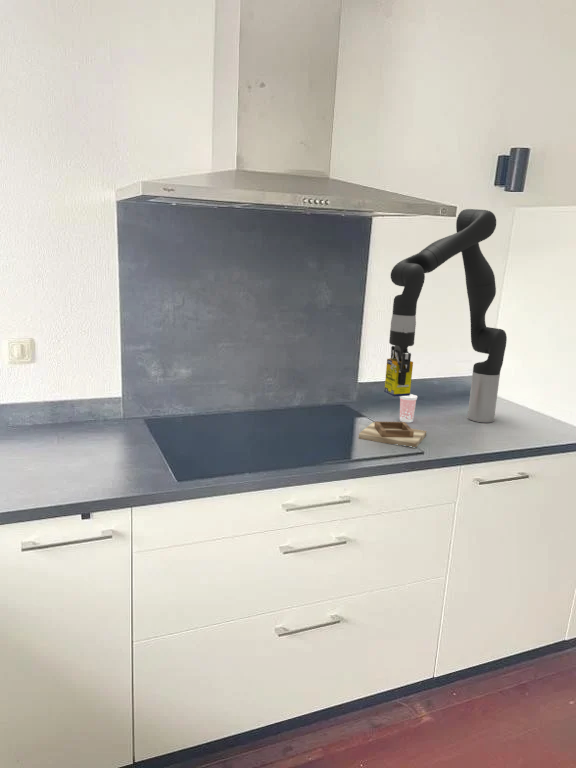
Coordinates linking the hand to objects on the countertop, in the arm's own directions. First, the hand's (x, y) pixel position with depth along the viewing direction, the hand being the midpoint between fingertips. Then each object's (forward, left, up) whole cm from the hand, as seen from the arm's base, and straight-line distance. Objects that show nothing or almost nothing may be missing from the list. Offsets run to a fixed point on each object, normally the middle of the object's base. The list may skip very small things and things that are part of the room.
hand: (398, 381), depth 184 cm
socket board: (0, 0, -18) cm, 18 cm away
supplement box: (0, 0, -4) cm, 4 cm away
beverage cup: (-21, -1, -18) cm, 28 cm away
